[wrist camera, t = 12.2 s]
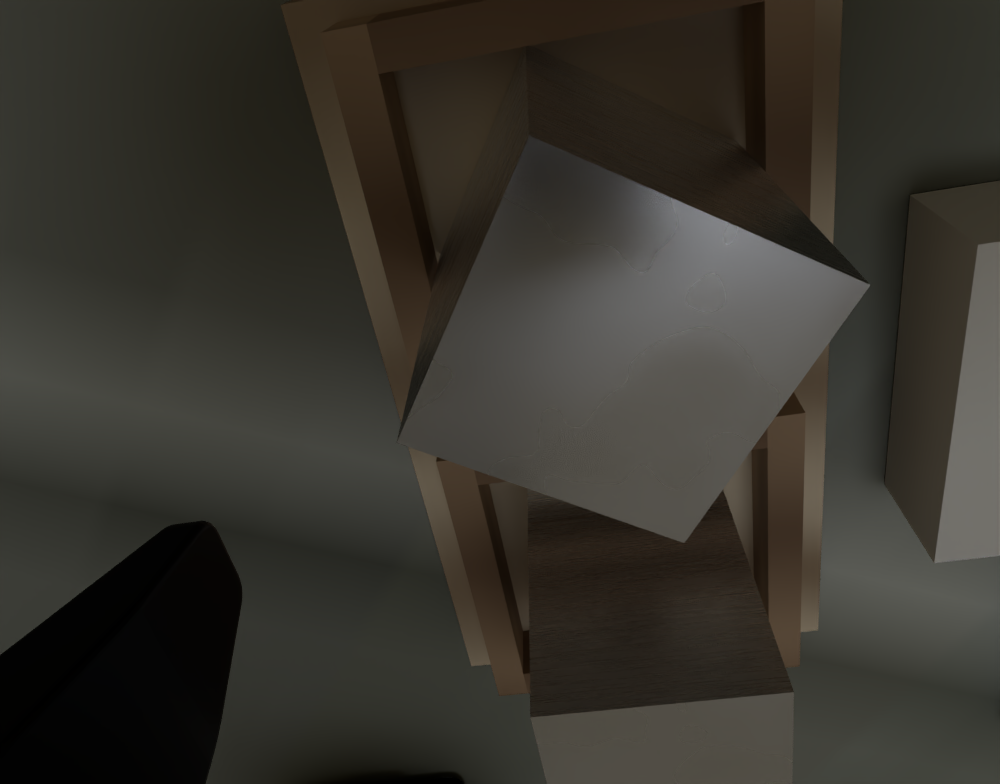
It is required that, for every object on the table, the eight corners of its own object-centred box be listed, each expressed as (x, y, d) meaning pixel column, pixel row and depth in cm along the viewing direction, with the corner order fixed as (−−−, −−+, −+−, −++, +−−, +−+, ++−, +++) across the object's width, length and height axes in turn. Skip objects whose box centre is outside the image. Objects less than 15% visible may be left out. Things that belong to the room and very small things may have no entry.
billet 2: (716, 583, 22) (791, 840, 16) (552, 601, 22) (564, 858, 16) (709, 450, 19) (793, 692, 13) (527, 473, 20) (530, 717, 14)
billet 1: (628, 329, 18) (683, 543, 12) (439, 253, 17) (396, 442, 11) (735, 140, 16) (870, 285, 10) (525, 43, 15) (529, 135, 9)
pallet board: (804, 598, 24) (835, 673, 21) (473, 634, 25) (468, 709, 22) (824, -108, 14) (881, -111, 12) (295, -2, 16) (257, 14, 13)
